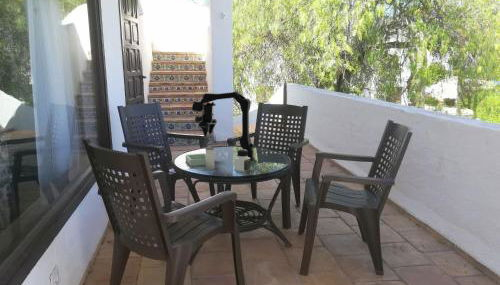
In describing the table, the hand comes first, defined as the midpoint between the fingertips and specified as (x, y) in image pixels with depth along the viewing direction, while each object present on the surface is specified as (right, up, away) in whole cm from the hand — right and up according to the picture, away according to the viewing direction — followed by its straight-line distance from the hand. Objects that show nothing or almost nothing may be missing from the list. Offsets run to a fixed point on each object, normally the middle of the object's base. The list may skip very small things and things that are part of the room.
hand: (207, 135), depth 261 cm
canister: (+4, -20, -28) cm, 35 cm away
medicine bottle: (+24, -21, -29) cm, 43 cm away
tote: (-4, -18, -16) cm, 24 cm away
